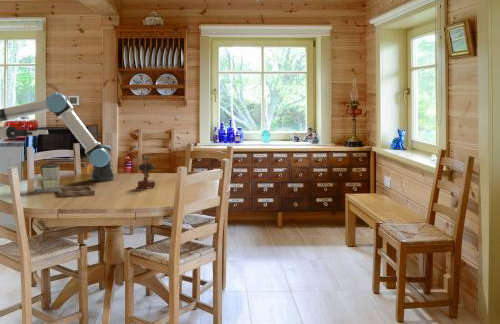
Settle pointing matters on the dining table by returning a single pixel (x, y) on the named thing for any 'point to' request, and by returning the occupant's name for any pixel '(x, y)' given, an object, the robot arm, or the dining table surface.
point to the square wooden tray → (75, 191)
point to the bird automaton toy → (146, 174)
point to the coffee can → (50, 176)
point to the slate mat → (39, 190)
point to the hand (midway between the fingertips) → (43, 132)
